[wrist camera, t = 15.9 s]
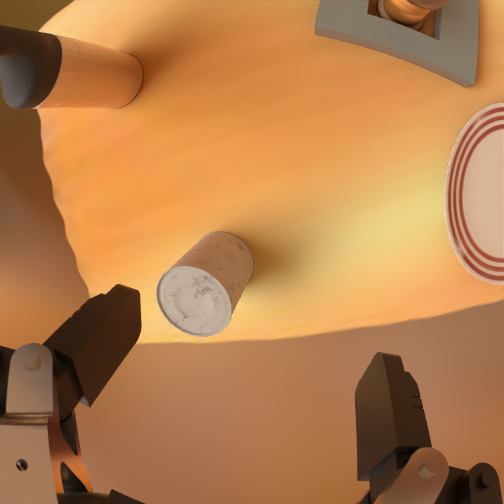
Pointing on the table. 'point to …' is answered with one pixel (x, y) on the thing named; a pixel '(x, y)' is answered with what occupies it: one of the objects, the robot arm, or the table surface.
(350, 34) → the grey rectangular frame
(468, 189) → the dinner plate
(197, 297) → the speckled tan cylinder
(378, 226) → the table surface
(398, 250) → the table surface
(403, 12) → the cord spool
